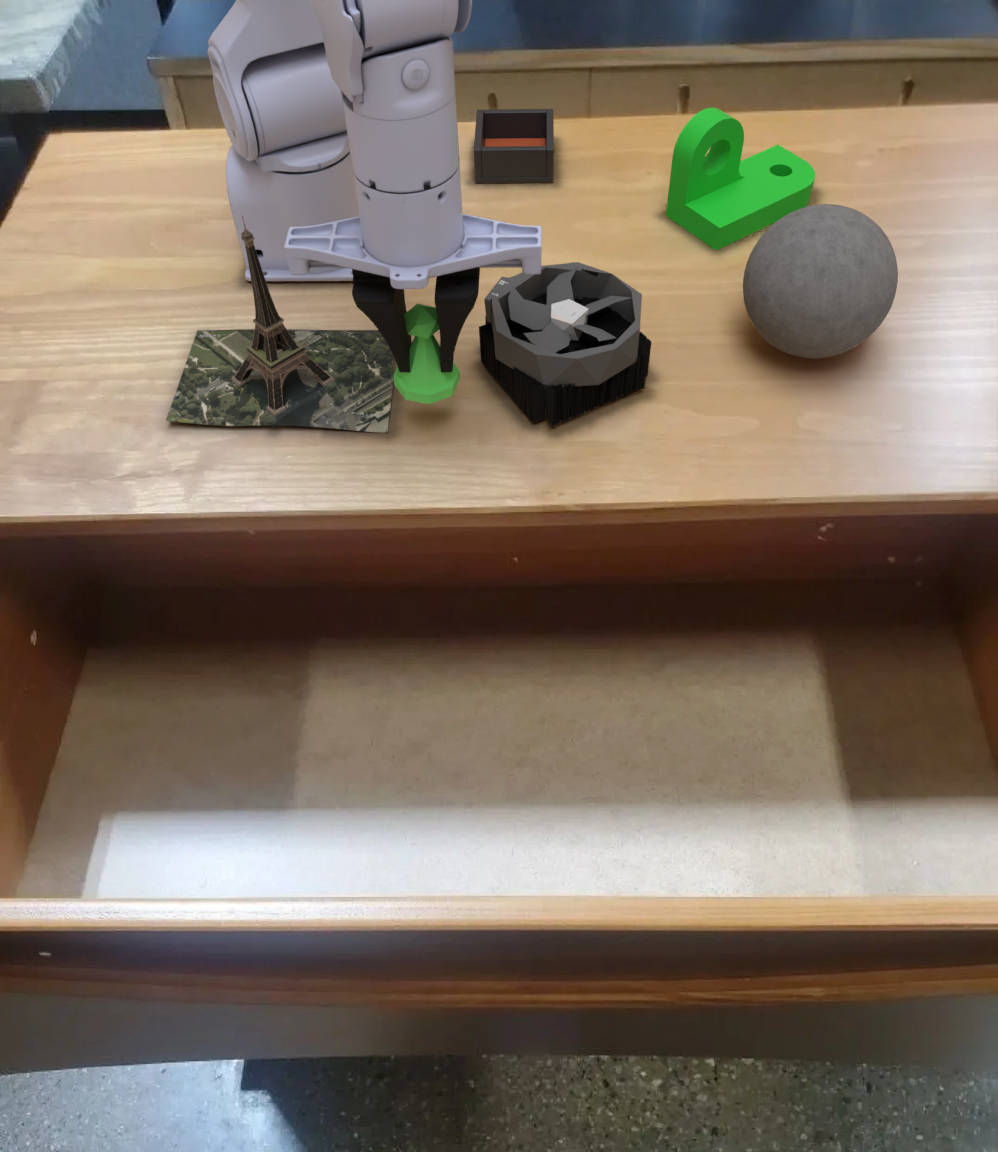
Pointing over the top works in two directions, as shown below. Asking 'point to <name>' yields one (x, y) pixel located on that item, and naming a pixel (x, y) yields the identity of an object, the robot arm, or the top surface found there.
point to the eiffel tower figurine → (285, 373)
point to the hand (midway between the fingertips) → (426, 362)
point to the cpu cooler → (564, 340)
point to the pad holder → (514, 146)
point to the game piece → (425, 360)
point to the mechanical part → (731, 181)
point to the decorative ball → (820, 281)
